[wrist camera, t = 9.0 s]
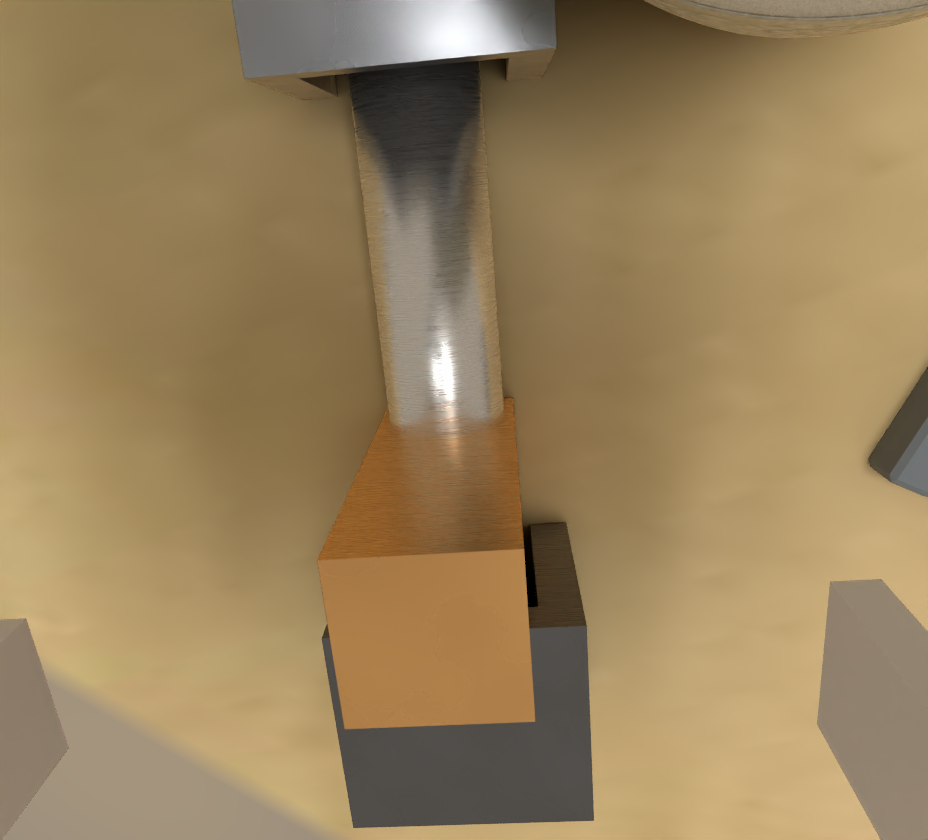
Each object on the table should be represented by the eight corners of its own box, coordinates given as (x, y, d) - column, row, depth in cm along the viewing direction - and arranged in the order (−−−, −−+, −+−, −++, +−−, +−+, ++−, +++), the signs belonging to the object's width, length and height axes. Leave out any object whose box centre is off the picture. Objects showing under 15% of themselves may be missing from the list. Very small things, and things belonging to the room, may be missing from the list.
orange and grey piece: (348, 74, 21) (224, -7, 11) (490, 60, 21) (486, -35, 11) (418, 650, 27) (374, 913, 17) (529, 645, 27) (547, 909, 17)
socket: (360, 534, 25) (321, 638, 20) (565, 522, 25) (586, 625, 19) (383, 692, 28) (353, 828, 22) (573, 684, 27) (593, 820, 21)
